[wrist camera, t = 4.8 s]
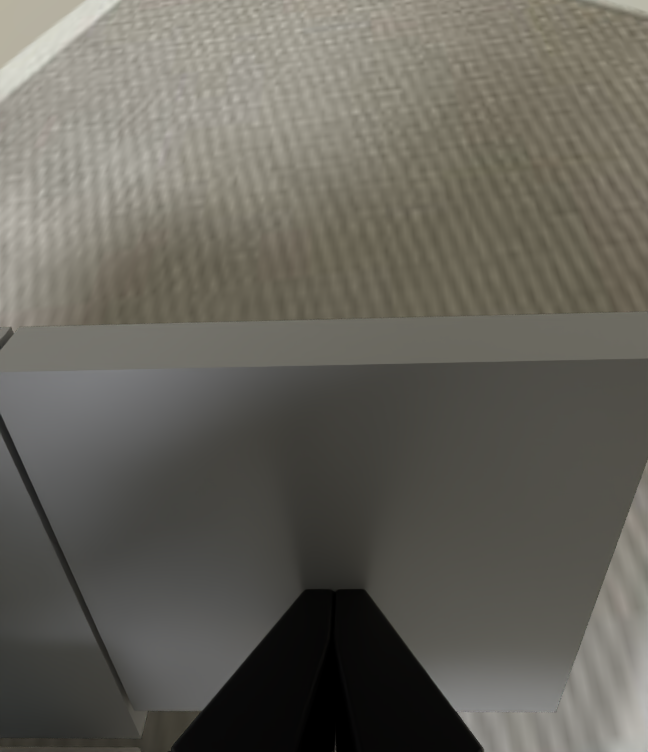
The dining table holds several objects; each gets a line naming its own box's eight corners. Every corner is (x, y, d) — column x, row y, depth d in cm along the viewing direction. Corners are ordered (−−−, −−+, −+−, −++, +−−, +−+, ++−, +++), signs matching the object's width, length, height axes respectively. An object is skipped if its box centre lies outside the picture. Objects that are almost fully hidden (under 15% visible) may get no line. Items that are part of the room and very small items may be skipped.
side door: (545, 740, 11) (683, 357, 6) (-309, 736, 11) (-785, 389, 7) (532, 688, 11) (646, 310, 7) (-270, 687, 12) (-674, 344, 7)
